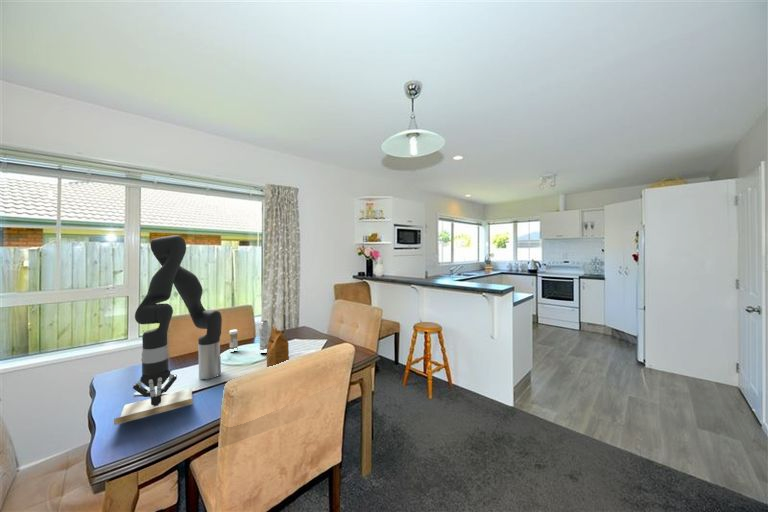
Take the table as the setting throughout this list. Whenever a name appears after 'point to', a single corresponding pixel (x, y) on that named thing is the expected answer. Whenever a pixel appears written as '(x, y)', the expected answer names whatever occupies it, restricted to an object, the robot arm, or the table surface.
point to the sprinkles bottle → (233, 339)
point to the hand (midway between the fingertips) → (156, 405)
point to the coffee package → (277, 348)
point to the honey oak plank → (152, 411)
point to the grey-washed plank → (165, 400)
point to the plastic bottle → (264, 335)
